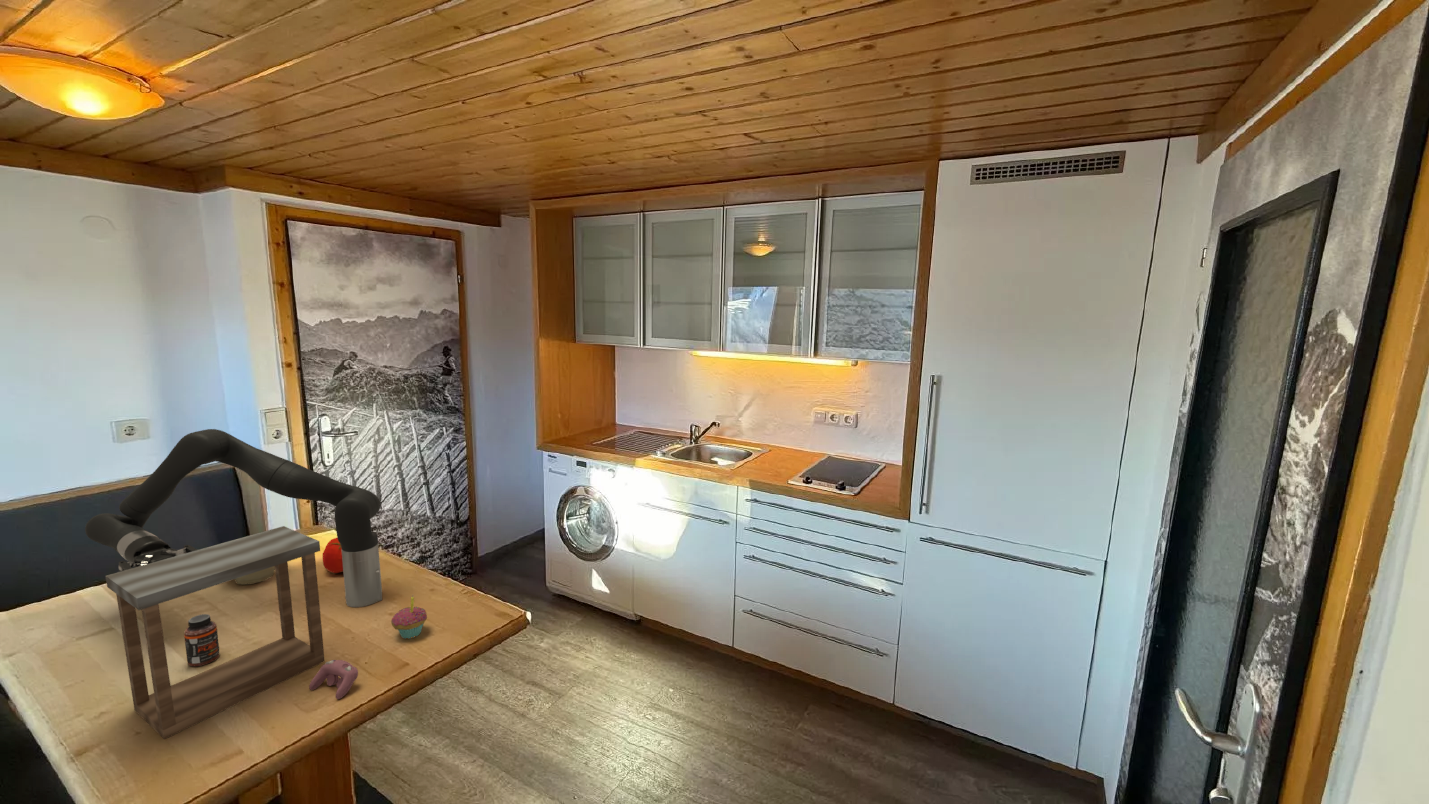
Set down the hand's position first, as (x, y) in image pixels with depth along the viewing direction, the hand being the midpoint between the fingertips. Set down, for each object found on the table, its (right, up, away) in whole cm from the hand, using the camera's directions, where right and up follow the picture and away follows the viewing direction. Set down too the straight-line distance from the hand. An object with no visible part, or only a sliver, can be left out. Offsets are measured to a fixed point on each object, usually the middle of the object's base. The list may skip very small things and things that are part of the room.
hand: (175, 571), depth 140 cm
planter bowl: (-12, -14, +40) cm, 44 cm away
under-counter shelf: (+23, -23, -9) cm, 34 cm away
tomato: (+12, -14, +48) cm, 51 cm away
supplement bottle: (+8, -22, -1) cm, 23 cm away
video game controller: (+46, -25, -9) cm, 53 cm away
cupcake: (+52, -21, +13) cm, 57 cm away
